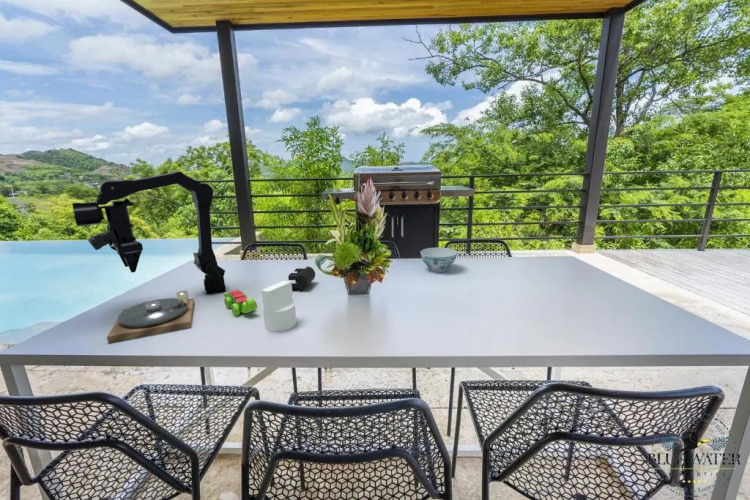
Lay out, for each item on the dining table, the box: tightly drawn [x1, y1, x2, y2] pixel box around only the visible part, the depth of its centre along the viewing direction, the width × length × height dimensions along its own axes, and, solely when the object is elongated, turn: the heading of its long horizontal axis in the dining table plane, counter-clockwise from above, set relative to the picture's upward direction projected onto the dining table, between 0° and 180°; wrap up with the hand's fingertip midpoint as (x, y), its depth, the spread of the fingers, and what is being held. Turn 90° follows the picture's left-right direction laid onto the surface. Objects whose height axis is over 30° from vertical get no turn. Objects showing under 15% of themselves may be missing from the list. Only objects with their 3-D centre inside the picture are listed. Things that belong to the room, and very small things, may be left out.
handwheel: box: [117, 290, 190, 328], centre depth 106 cm, size 18×18×6 cm
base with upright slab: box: [261, 280, 297, 333], centre depth 101 cm, size 9×9×12 cm
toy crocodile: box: [223, 289, 258, 317], centre depth 114 cm, size 20×7×6 cm, turn 38°
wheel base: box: [106, 297, 195, 345], centre depth 107 cm, size 20×20×2 cm
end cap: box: [287, 266, 316, 292], centre depth 132 cm, size 10×7×7 cm
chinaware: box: [420, 247, 458, 273], centre depth 147 cm, size 15×15×8 cm
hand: (130, 269), depth 113 cm, fingers open, 9 cm apart
